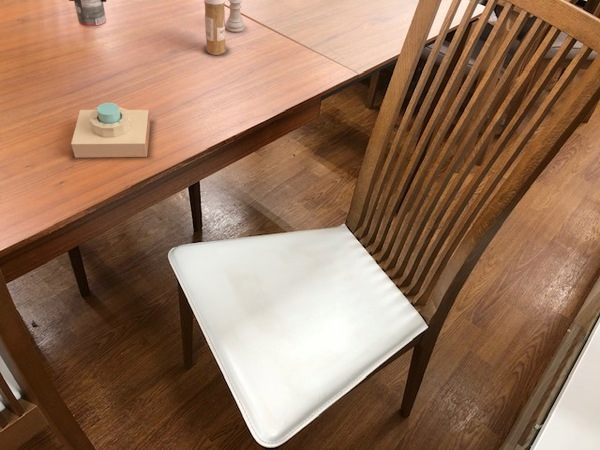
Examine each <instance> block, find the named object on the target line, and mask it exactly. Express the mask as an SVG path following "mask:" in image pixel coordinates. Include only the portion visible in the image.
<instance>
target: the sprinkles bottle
mask: <svg viewBox="0 0 600 450" xmlns="http://www.w3.org/2000/svg"><path fill="white" fill-rule="evenodd" d="M203 3H204V22H205V23H204V24H205V25H204V27H205V38H206V39H205V41H206V47H205V49H206V53H208V54H210V55H213V56H219V55H222V54H225V52H226V51H227V48H226V14H225V13H226V12H225V11H226V10H225V9H226V8H225V3H226V0H203Z"/></svg>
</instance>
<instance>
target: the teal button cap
mask: <svg viewBox="0 0 600 450" xmlns="http://www.w3.org/2000/svg"><path fill="white" fill-rule="evenodd" d="M119 107H120V106H119V105H118V104H117V103H114V102H104V103H101V104H99V105H98V106H97V107H96V109H97V113H98V117H99V121H100V122H101V123H104V124H112V123H116V122H118V121H119V120H120V119H121V116H120V111H119Z"/></svg>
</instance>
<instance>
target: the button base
mask: <svg viewBox="0 0 600 450" xmlns="http://www.w3.org/2000/svg"><path fill="white" fill-rule="evenodd" d="M119 111H120V116H121V119H120V120H119V121H118V122H116V123H112V124H104V123H101V122H100V121H99V117H98V113H97V108H96V109H79V112H78V116H77V119H76V123H75V127H74V131H73V136H72V138H71V142H70V146H71V149H72V152H73V156H74V158H76V159H81V158H83V159H85V158H89V159H90V158H147V157H148V151H149V143H150V142H149V140H150V131H151V119H150V118H151V117H150V111H149V109H126V108H124V107H121V106H119Z"/></svg>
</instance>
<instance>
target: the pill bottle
mask: <svg viewBox="0 0 600 450" xmlns="http://www.w3.org/2000/svg"><path fill="white" fill-rule="evenodd" d="M73 2H74V6H75V10H76V15H77V20H78V23H79V25H80V26H81V27H82V28H85V29H92V30H95V29H100V28H103V27H104V26H106V24H107V17H106V11H105V5H104V2H102V1H101V0H74V1H73Z"/></svg>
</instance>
